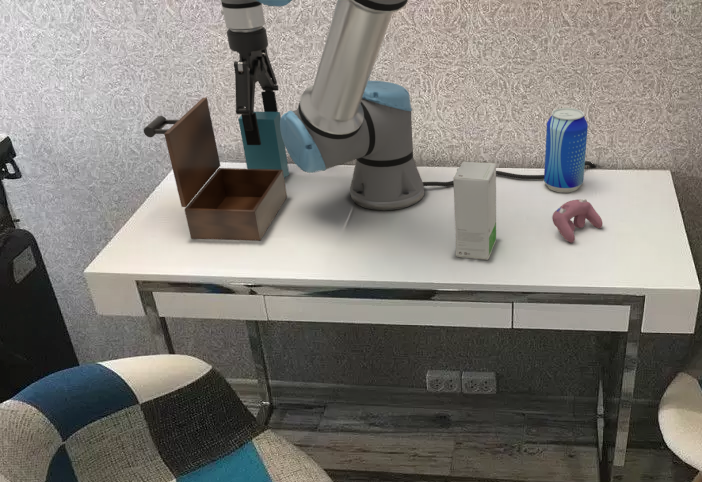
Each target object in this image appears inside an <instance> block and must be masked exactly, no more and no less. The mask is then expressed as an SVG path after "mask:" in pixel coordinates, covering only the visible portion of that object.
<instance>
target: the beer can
mask: <svg viewBox="0 0 702 482" xmlns="http://www.w3.org/2000/svg"><path fill="white" fill-rule="evenodd" d="M588 127H589V124H588V122H587V119H586V118H585V112H584V111H583V110H580V109H579V108H574V107H560V108H555V109H554V110H552V111H551V116H550V117H549V118H548V120H547V122H546V131H545V151H544V152H545V153H544V172H543V175H544V179H543V181H544V183H545V184H546V186H547V188H548V190H551V191H553V192H557V193H566V194H567V193H573V192H576V191H577V190H579V189H580V187H581V185H583V183H584V180H585V179H584V178H585V168H586V167H585V161H586V153H587V141H588V129H589V128H588Z"/></svg>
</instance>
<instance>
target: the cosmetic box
mask: <svg viewBox="0 0 702 482" xmlns="http://www.w3.org/2000/svg"><path fill="white" fill-rule="evenodd" d="M496 171H497V163H495V162H475V161H462V163H461V164H460V166H459V167H457V169H456V172H455V173H454V175H453V178H452V179H453V181H454V185H453V205H454V231H455V232H454V233H455V234H454V235H455V257H457V258H465V259H474V260H475V259H476V260H489V259H490V258H491V254H492V253H493V249H494V247H495V245H496V243H497V175H496Z"/></svg>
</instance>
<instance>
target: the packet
mask: <svg viewBox="0 0 702 482" xmlns="http://www.w3.org/2000/svg"><path fill="white" fill-rule="evenodd" d="M254 113H256V117H257V123H258V128H259V134H260V140H261V145H247V142H246V137H245V131H244V126H243V120H242V115H241V114H240V116H239V117H238V118H237V120H238V125H239V132H240V136H241V141H242V147H243V153H244V158H245V164H246V169H277V170H283V174H284V179H286V177H289V175H290V171H289V164H288V157H287V149H286V147H285V145H284V142H283V139H282V136H281V131H280V119H281V117H282V115H281V112H280V111H278V112H264V111H256V110H254Z"/></svg>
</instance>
